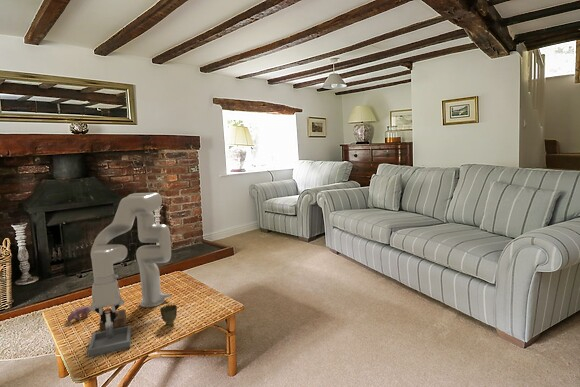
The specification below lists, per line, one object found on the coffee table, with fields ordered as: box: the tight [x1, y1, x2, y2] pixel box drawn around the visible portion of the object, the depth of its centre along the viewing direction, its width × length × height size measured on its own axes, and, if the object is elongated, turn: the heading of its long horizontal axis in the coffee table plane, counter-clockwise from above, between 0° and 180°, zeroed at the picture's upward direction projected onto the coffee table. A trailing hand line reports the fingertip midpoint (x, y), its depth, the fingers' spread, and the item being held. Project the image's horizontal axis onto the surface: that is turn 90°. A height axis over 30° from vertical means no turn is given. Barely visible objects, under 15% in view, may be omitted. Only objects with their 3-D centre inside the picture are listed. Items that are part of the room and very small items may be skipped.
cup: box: [159, 304, 178, 326], centre depth 162 cm, size 8×7×8 cm
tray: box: [87, 325, 132, 358], centre depth 147 cm, size 15×15×3 cm
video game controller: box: [66, 305, 92, 322], centre depth 173 cm, size 10×5×7 cm, turn 149°
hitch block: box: [98, 308, 128, 332], centre depth 161 cm, size 10×10×6 cm
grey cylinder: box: [103, 307, 114, 339], centre depth 146 cm, size 3×3×12 cm
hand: (108, 321), depth 146 cm, fingers closed on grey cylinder, 2 cm apart
